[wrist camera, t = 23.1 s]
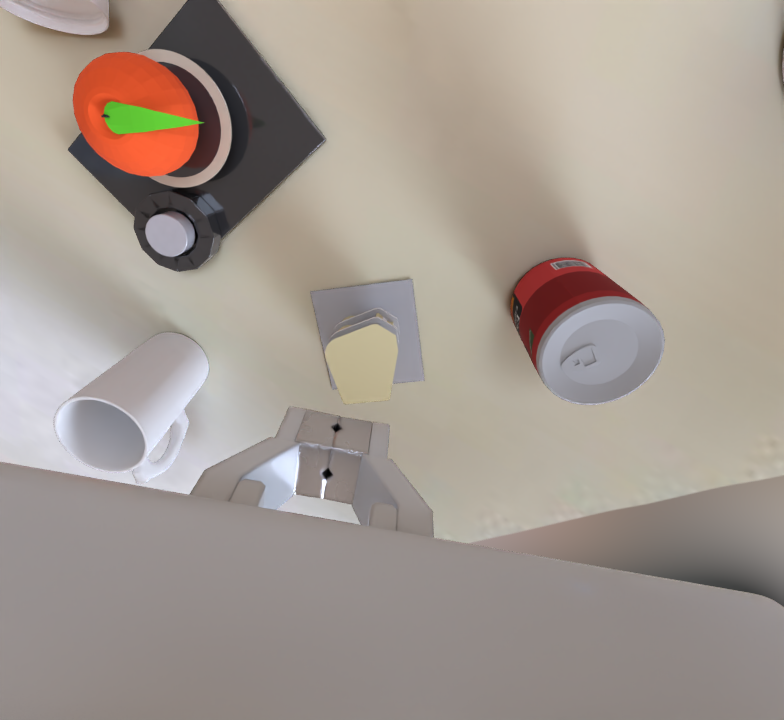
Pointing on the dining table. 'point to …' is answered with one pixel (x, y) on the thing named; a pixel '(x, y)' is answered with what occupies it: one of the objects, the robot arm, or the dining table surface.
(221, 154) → the cooking ring
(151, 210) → the hob
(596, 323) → the canned food
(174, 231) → the button
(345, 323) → the stacked layers on plate
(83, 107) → the clementine
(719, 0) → the dining table surface
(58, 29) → the spread jar
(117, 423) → the mug
